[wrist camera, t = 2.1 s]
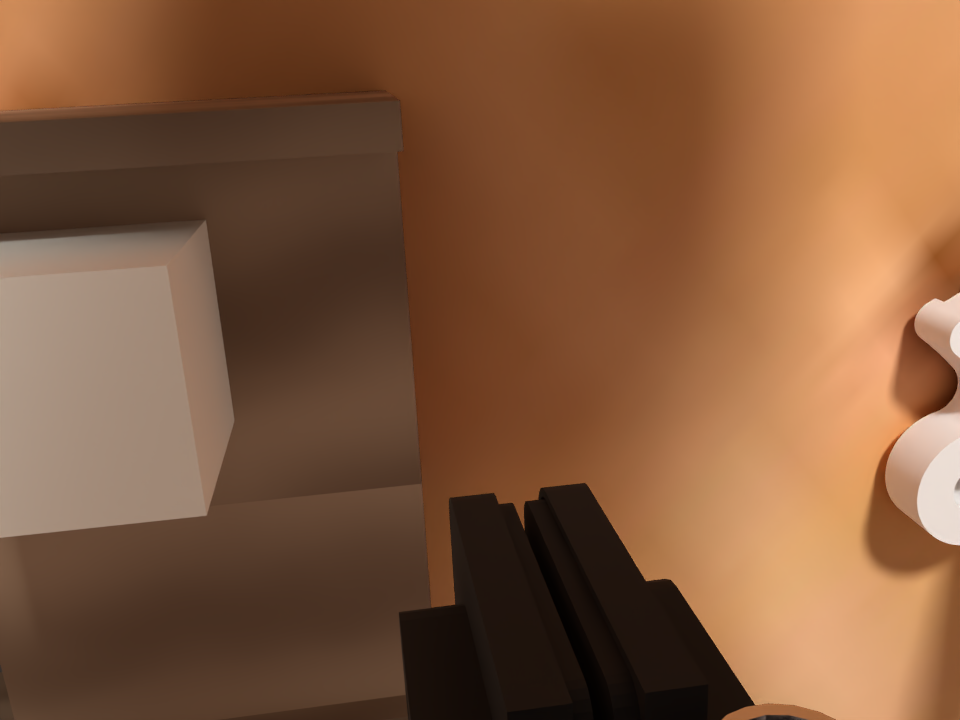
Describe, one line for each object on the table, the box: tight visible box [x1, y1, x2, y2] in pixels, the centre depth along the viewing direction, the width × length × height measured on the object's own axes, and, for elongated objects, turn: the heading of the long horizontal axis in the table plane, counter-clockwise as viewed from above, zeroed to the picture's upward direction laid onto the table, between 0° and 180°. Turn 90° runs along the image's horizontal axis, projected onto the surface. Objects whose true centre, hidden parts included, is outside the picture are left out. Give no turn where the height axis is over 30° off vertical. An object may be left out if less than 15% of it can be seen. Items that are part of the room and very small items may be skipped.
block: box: [0, 220, 235, 538], centre depth 19 cm, size 5×5×5 cm
